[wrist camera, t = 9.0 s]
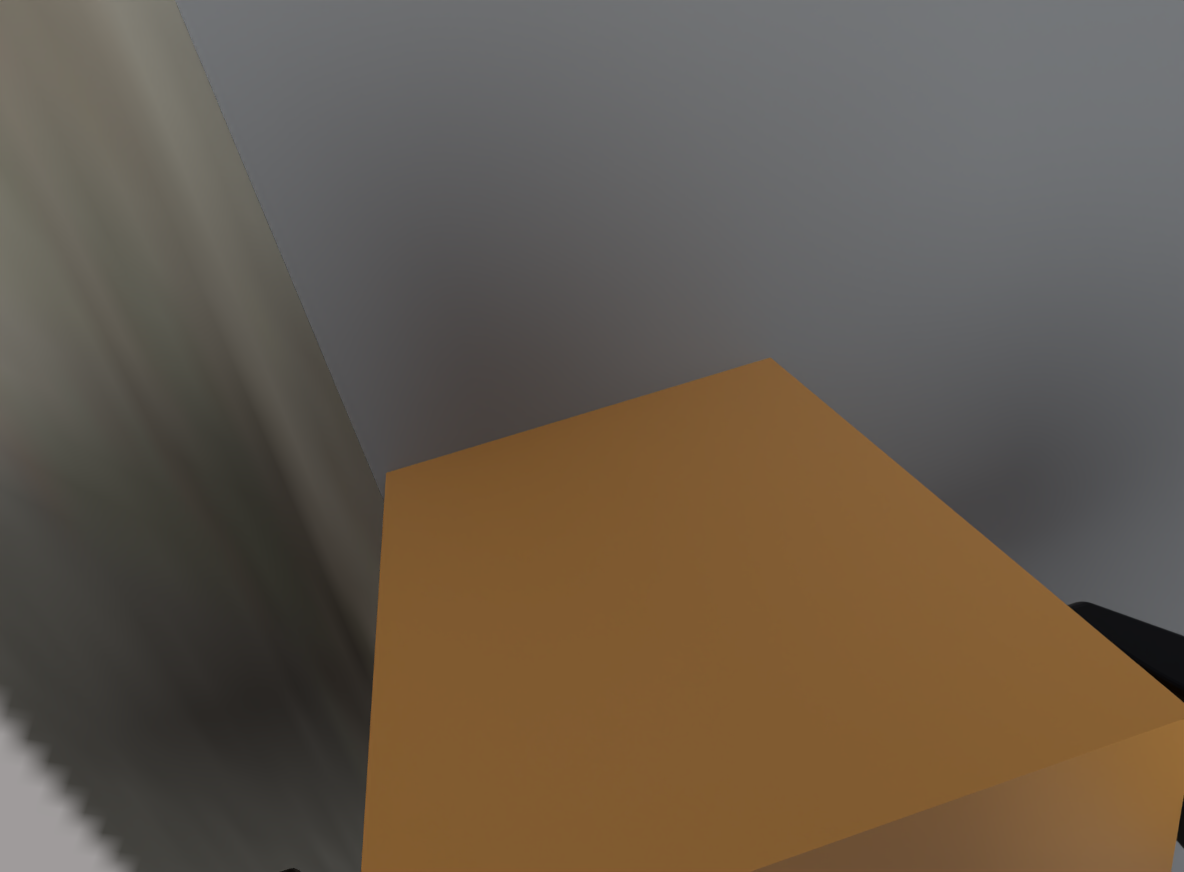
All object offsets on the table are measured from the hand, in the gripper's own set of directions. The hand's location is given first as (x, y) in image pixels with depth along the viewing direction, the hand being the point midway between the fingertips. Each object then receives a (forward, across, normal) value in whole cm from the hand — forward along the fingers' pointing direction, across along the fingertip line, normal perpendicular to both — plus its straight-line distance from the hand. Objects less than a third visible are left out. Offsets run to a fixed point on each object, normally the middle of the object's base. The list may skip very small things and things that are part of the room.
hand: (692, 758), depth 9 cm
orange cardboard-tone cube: (+4, 0, 0) cm, 4 cm away
